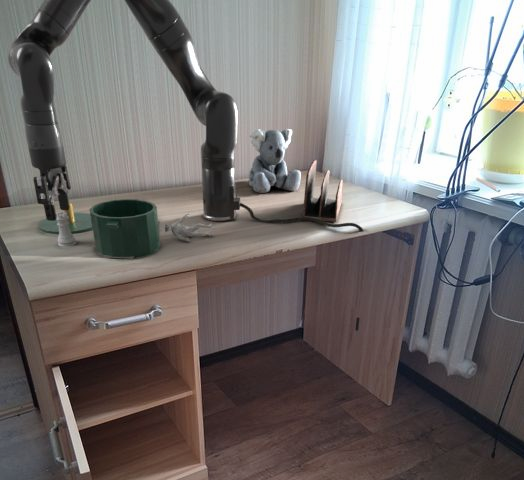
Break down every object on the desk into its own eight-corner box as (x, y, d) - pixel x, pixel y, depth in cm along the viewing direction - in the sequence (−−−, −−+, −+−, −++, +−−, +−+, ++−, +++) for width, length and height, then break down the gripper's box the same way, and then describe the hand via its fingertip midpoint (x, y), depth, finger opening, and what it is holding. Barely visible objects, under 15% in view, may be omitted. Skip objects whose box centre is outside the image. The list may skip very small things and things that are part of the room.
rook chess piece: (60, 242, 130) (54, 211, 126) (78, 241, 131) (72, 211, 127) (56, 248, 127) (49, 216, 122) (74, 248, 127) (68, 216, 123)
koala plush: (256, 195, 171) (256, 132, 160) (238, 182, 185) (238, 124, 175) (302, 191, 176) (306, 130, 166) (282, 179, 190) (284, 122, 180)
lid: (109, 217, 148) (106, 196, 145) (91, 237, 134) (87, 213, 131) (53, 216, 148) (48, 194, 145) (28, 235, 134) (23, 212, 131)
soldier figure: (212, 244, 134) (168, 235, 128) (205, 251, 138) (162, 243, 132) (212, 217, 136) (169, 207, 130) (205, 225, 140) (163, 216, 134)
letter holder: (302, 220, 149) (305, 170, 142) (310, 201, 166) (313, 156, 158) (336, 222, 147) (341, 172, 140) (341, 203, 164) (345, 158, 156)
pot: (167, 234, 137) (164, 197, 131) (149, 264, 119) (145, 222, 114) (110, 232, 137) (104, 195, 132) (83, 262, 119) (76, 220, 114)
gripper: (49, 151, 110) (63, 224, 118) (72, 139, 122) (83, 207, 130) (14, 149, 110) (31, 223, 118) (41, 138, 122) (54, 206, 130)
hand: (58, 214), depth 124 cm, fingers open, 8 cm apart
